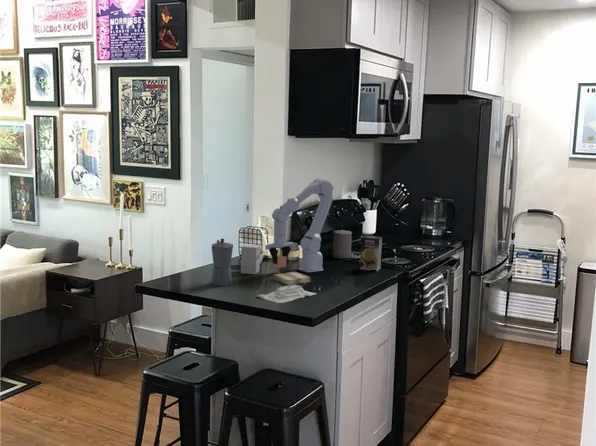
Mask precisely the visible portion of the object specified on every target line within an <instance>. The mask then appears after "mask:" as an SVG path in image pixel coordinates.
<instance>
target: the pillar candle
mask: <svg viewBox="0 0 596 446" xmlns="http://www.w3.org/2000/svg"><path fill="white" fill-rule="evenodd" d="M352 234H353V232H352V231H350V230H344V229H340V230H339V229H338V230H333V242H332V244H333V245H332V246H333V247H332V258H334V259H342V260H343V258H347V257H350V258H351V256H352V255H351V254H352ZM347 259H348V258H347Z"/></svg>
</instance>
